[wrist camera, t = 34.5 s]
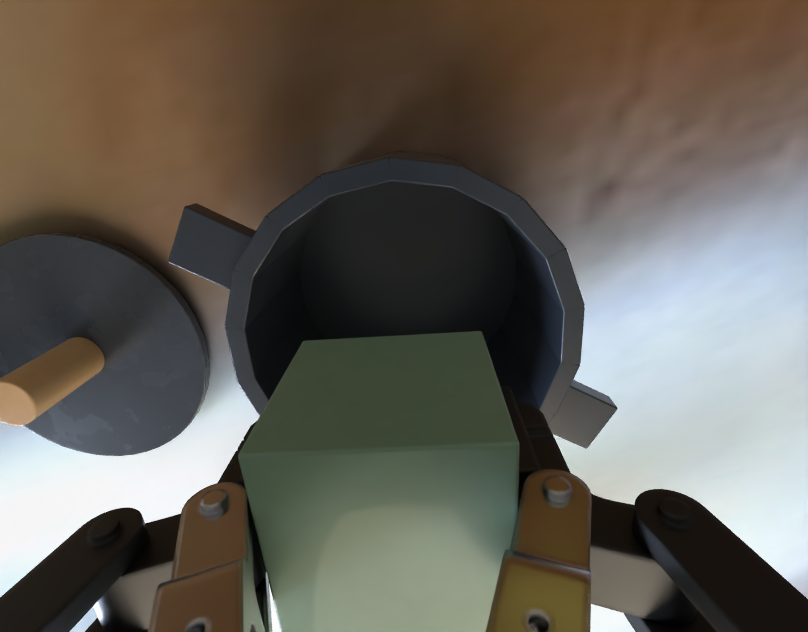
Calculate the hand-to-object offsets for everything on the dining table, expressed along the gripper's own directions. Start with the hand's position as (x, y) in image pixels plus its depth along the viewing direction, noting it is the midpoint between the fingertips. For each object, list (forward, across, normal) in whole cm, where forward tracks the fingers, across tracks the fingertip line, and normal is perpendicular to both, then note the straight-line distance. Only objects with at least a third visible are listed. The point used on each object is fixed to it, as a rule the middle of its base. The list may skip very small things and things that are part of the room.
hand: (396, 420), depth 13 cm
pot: (+15, 0, 0) cm, 15 cm away
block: (0, 0, 0) cm, 0 cm away
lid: (+14, +20, +3) cm, 25 cm away
